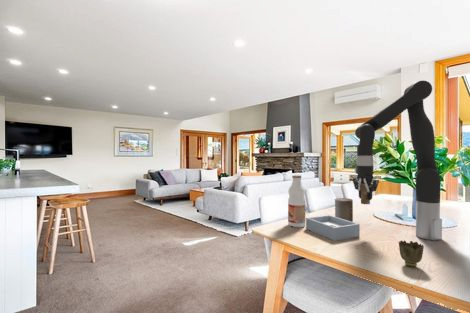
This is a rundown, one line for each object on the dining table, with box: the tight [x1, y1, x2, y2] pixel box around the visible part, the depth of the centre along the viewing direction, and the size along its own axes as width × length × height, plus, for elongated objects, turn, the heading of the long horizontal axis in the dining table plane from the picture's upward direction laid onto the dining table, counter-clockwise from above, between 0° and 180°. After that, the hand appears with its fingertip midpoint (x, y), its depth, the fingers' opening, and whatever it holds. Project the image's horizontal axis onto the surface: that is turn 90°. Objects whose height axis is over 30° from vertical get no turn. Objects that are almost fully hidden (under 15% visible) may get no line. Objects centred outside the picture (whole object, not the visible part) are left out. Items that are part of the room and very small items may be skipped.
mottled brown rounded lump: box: [398, 239, 425, 268], centre depth 92 cm, size 8×7×8 cm
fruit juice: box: [287, 174, 306, 228], centre depth 144 cm, size 9×9×28 cm
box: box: [305, 214, 361, 242], centre depth 131 cm, size 20×16×6 cm
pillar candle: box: [334, 197, 354, 222], centre depth 150 cm, size 10×10×15 cm
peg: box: [360, 183, 371, 205], centre depth 128 cm, size 4×4×10 cm
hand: (365, 198), depth 129 cm, fingers closed on peg, 4 cm apart
